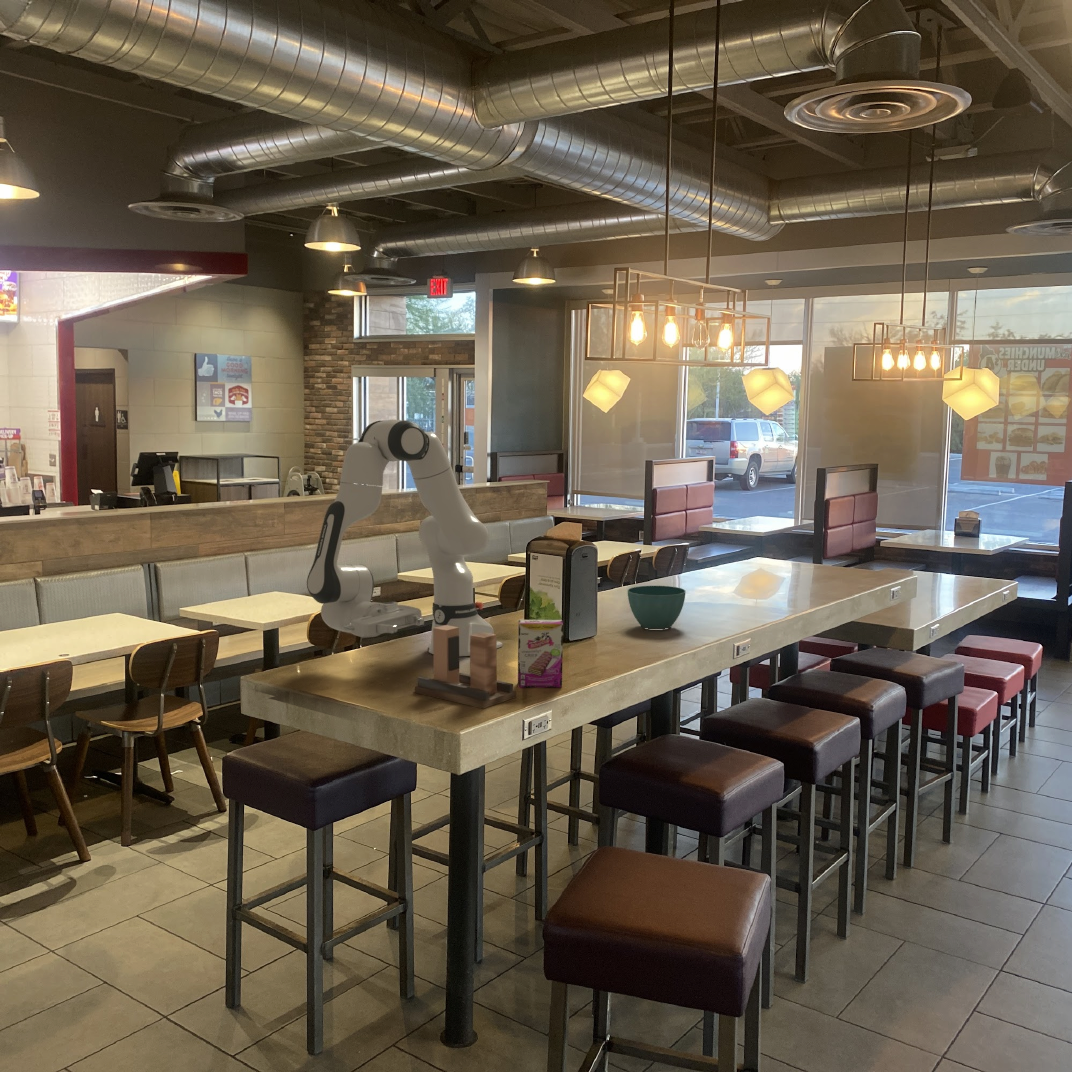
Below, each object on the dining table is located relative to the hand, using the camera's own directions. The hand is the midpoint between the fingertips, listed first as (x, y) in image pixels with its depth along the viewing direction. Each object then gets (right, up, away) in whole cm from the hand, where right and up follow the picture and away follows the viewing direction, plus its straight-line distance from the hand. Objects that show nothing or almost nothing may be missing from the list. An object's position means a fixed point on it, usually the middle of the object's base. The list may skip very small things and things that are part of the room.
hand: (408, 625), depth 255 cm
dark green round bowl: (+70, -7, +68) cm, 98 cm away
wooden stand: (+15, -16, -10) cm, 24 cm away
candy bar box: (+33, -15, -1) cm, 36 cm away
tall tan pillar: (+10, -14, -6) cm, 18 cm away
